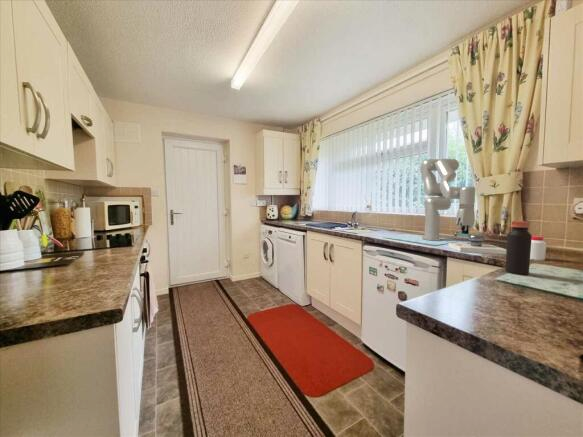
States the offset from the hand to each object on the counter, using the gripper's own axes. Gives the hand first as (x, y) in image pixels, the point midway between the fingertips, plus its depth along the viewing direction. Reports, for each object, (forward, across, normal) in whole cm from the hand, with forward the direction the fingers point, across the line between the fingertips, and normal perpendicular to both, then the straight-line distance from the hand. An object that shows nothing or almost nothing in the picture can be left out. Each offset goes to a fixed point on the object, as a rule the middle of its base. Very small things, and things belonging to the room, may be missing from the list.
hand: (464, 236), depth 148 cm
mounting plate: (+6, +3, +9) cm, 11 cm away
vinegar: (+6, +34, +47) cm, 58 cm away
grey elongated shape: (+4, +3, +4) cm, 6 cm away
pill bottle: (+7, -4, +32) cm, 33 cm away
